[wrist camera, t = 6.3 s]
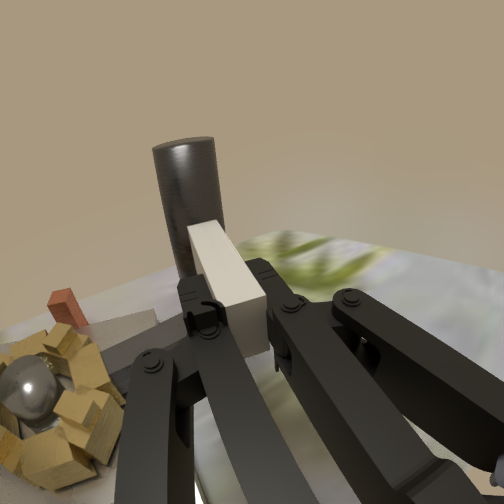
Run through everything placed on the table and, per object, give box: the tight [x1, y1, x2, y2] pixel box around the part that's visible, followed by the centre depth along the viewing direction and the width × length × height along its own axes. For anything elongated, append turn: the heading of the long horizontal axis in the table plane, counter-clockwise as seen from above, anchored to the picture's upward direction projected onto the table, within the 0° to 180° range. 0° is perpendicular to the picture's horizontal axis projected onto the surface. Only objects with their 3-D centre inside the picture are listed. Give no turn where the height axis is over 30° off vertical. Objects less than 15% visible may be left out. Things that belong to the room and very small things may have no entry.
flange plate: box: [0, 288, 208, 504], centre depth 14 cm, size 18×20×6 cm
